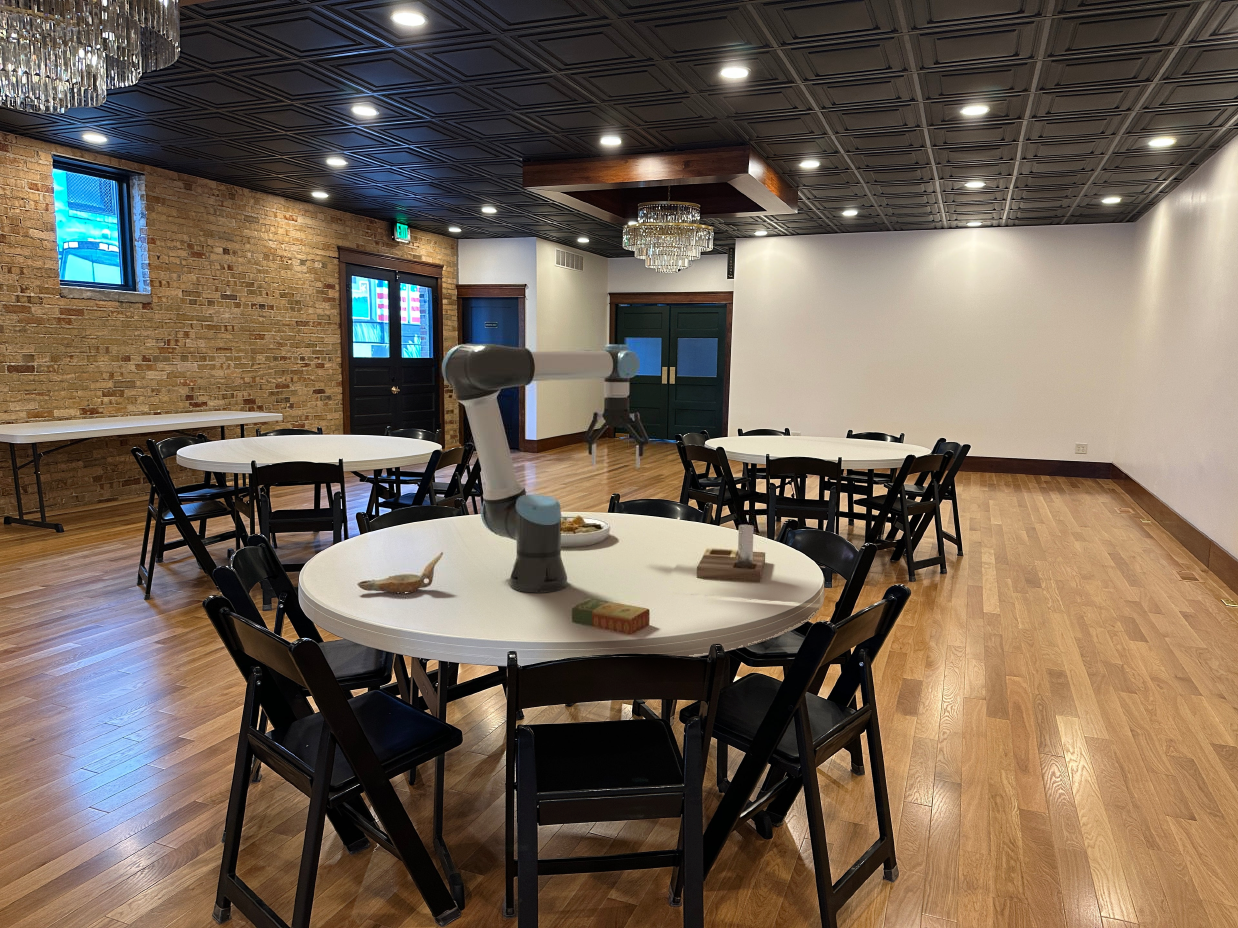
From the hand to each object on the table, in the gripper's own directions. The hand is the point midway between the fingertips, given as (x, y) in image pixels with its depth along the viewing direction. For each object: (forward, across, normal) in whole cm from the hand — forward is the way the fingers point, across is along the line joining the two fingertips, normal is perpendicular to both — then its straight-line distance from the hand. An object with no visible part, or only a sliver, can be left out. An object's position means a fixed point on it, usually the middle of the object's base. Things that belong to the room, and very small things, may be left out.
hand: (615, 466), depth 243 cm
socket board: (+27, -37, +14) cm, 48 cm away
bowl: (+28, +20, -18) cm, 39 cm away
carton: (+28, -12, +64) cm, 71 cm away
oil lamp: (+28, +46, +51) cm, 74 cm away
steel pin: (+26, -40, +20) cm, 52 cm away
